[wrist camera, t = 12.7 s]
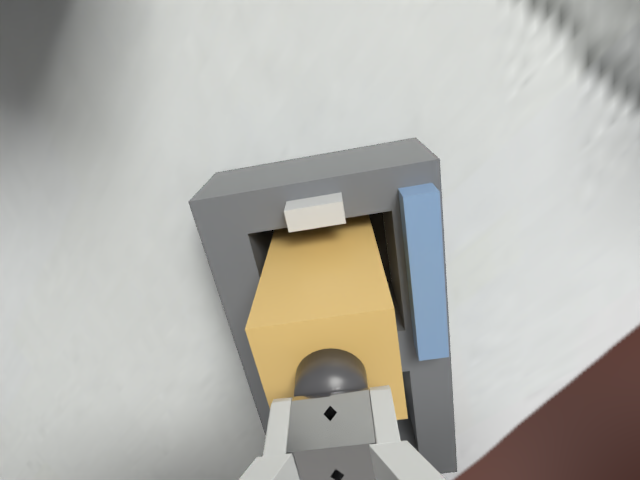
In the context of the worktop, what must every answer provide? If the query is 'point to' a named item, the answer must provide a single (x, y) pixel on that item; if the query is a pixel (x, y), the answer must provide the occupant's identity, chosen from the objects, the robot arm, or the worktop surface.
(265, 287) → the drawer with knob
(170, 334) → the worktop surface
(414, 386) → the grey compartment tray
